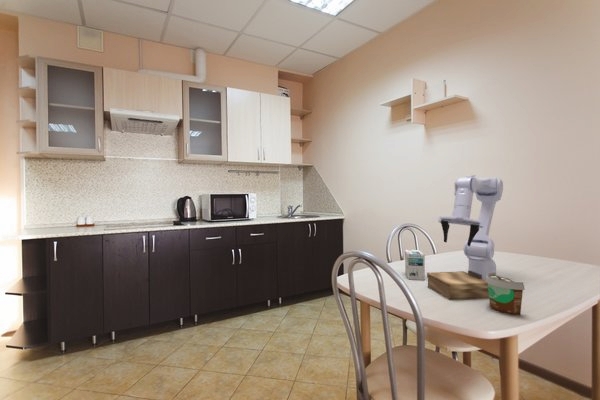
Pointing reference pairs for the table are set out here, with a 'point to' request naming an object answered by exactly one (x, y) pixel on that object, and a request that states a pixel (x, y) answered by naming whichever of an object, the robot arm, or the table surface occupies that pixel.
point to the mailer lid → (460, 279)
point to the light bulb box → (415, 264)
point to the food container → (504, 294)
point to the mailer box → (458, 293)
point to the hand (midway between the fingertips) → (456, 243)
